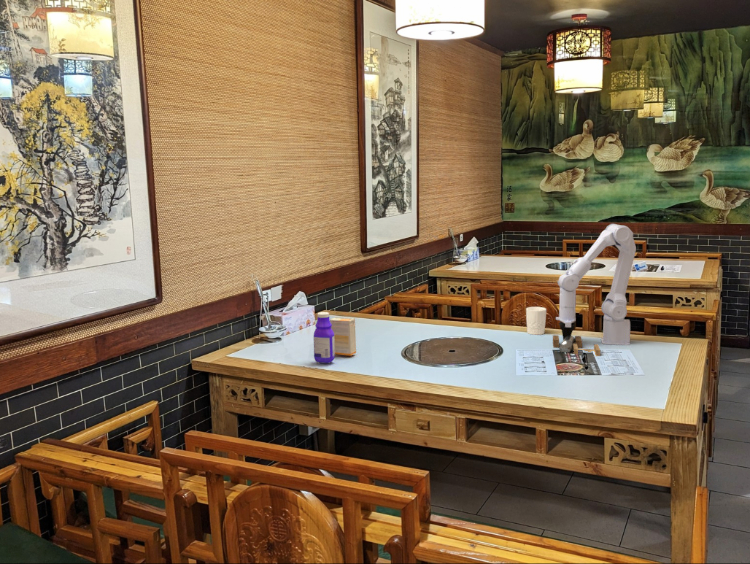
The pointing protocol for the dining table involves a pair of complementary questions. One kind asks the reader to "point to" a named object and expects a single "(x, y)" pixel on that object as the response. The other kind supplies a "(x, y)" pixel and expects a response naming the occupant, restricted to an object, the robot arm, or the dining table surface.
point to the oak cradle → (596, 349)
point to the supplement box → (344, 335)
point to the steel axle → (567, 344)
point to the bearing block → (556, 341)
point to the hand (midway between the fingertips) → (566, 342)
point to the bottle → (324, 339)
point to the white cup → (535, 320)
